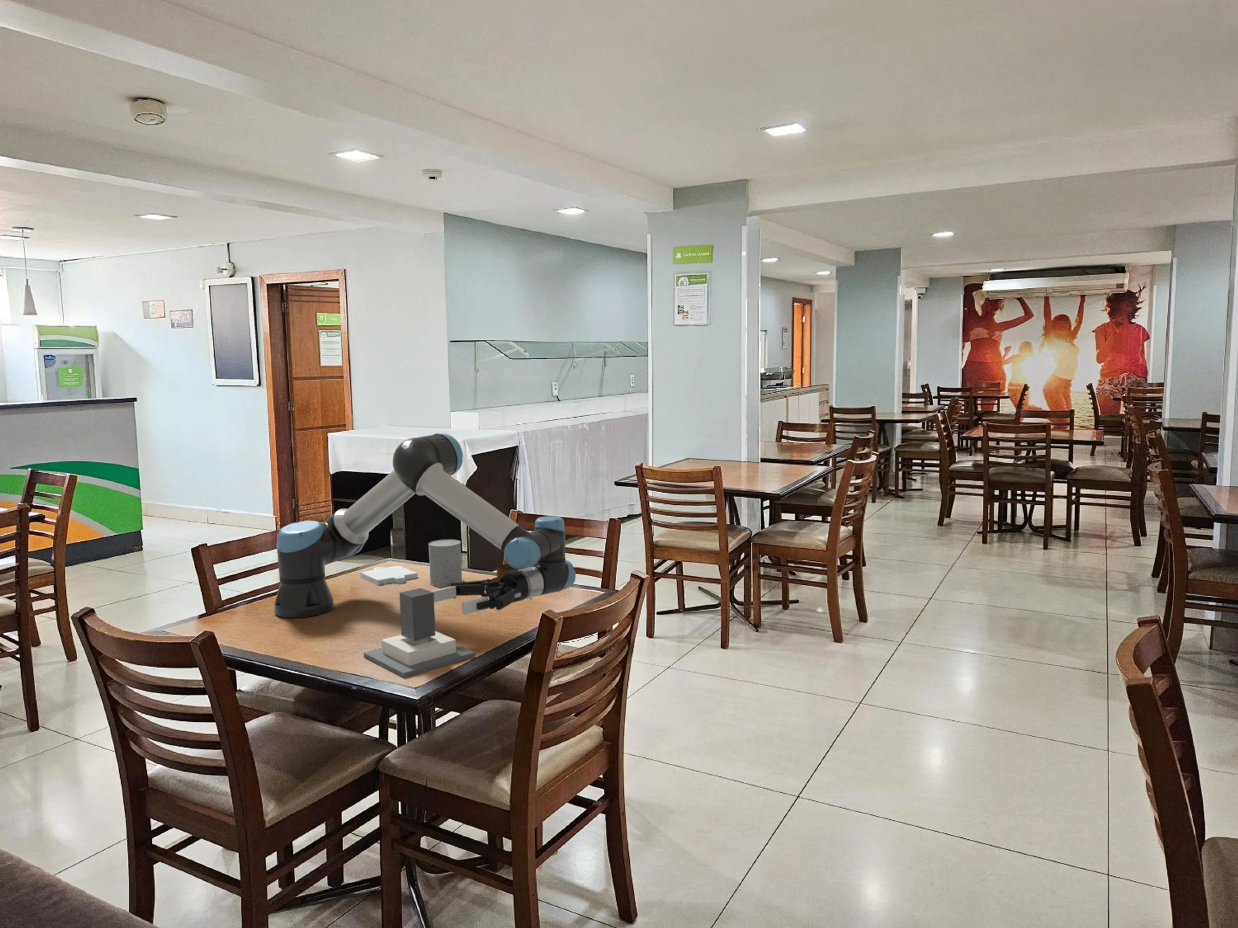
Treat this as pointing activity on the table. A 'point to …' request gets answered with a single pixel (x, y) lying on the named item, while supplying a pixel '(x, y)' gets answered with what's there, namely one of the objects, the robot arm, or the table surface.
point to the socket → (417, 654)
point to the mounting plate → (388, 575)
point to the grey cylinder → (445, 562)
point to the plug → (417, 615)
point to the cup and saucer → (503, 571)
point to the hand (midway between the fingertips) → (446, 602)
